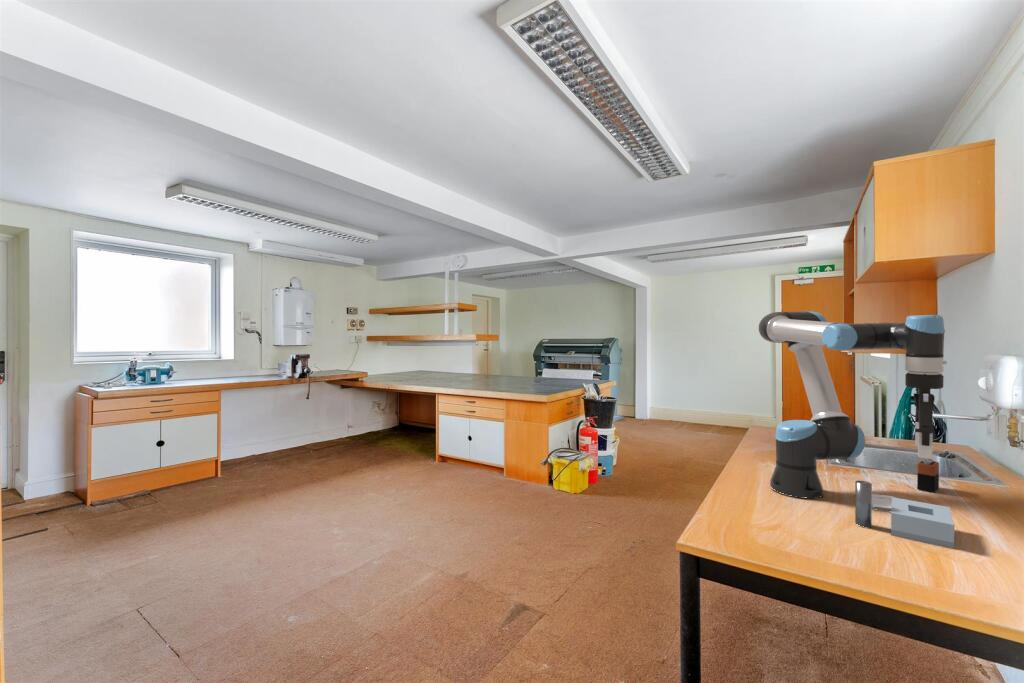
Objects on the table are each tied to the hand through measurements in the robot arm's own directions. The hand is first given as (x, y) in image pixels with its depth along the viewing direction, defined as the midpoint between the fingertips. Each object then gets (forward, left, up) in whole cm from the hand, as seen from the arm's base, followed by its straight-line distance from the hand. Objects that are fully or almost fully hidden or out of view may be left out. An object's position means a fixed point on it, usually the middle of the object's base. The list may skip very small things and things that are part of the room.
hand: (923, 451), depth 121 cm
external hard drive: (-8, +17, -22) cm, 30 cm away
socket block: (0, -1, -22) cm, 22 cm away
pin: (-12, -5, -22) cm, 25 cm away
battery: (+3, +42, -22) cm, 48 cm away
